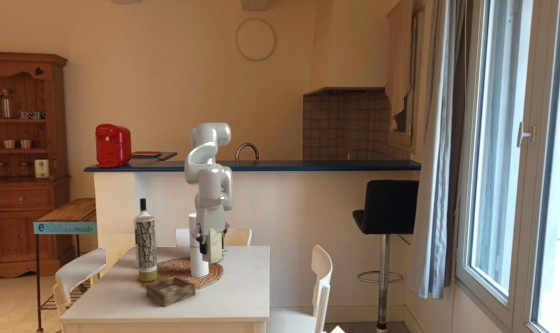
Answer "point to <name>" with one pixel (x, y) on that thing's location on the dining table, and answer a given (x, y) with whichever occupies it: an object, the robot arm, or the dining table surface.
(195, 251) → the cylindrical container
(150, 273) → the paper tube
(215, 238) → the skincare box
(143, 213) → the vodka
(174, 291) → the brown wooden square tray
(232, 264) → the dining table surface
